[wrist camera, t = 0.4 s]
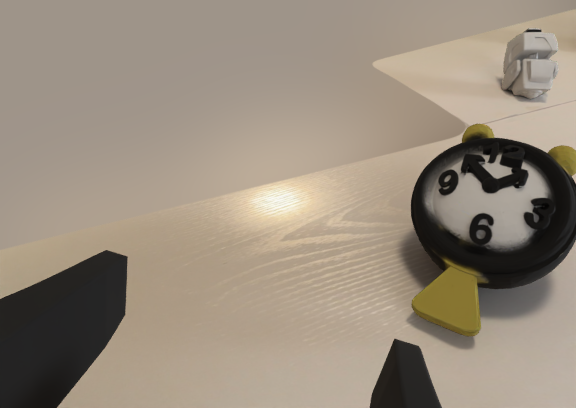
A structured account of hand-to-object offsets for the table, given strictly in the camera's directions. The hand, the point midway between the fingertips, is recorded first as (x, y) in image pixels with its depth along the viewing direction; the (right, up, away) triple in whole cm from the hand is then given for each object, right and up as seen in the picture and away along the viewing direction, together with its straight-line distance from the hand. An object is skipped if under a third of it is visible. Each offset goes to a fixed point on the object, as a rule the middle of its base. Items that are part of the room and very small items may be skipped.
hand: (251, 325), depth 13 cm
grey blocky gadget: (+36, +20, +62) cm, 74 cm away
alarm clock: (+17, -3, +30) cm, 35 cm away
